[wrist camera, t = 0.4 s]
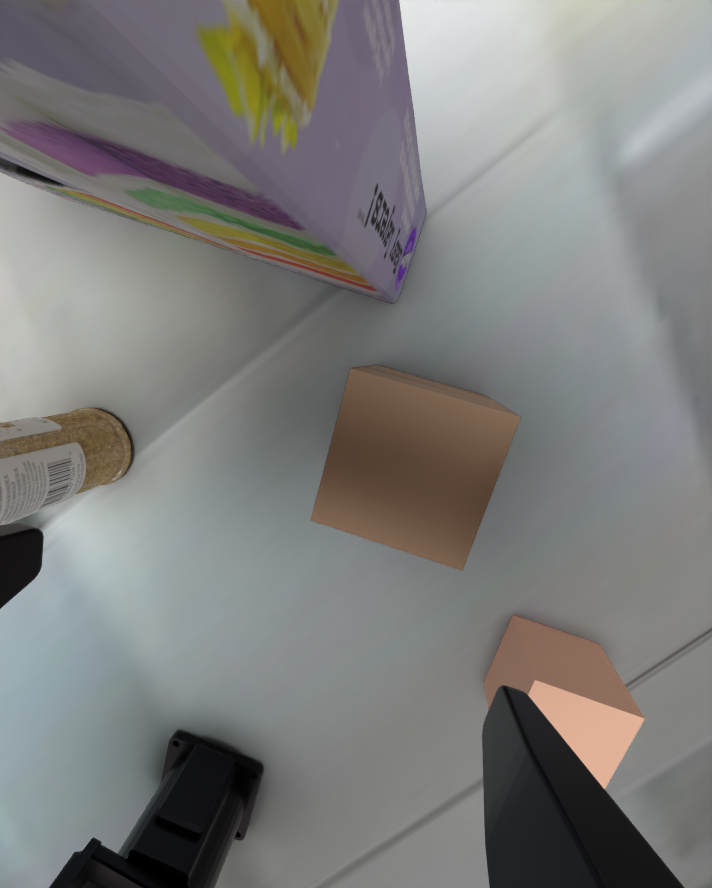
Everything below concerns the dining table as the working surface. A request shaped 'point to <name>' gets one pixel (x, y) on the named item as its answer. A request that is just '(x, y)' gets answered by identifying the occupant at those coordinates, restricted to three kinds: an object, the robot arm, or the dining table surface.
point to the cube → (569, 691)
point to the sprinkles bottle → (58, 459)
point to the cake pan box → (225, 125)
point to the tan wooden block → (413, 463)
